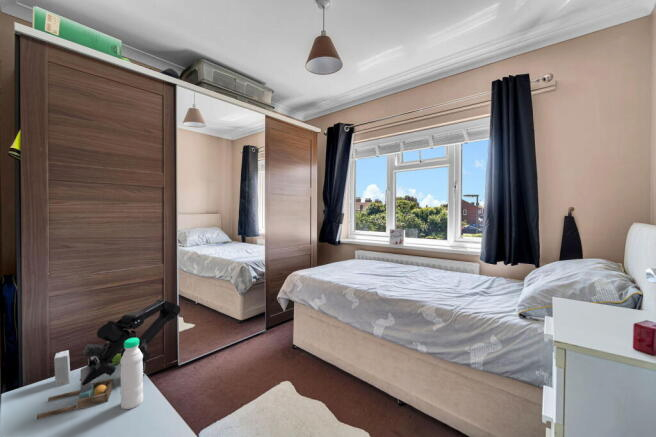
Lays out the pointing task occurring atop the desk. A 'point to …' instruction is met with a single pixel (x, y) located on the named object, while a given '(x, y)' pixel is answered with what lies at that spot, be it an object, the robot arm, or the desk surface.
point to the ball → (100, 389)
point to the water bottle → (131, 374)
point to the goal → (81, 402)
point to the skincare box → (62, 368)
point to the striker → (88, 388)
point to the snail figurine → (116, 359)
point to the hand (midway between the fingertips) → (81, 382)
